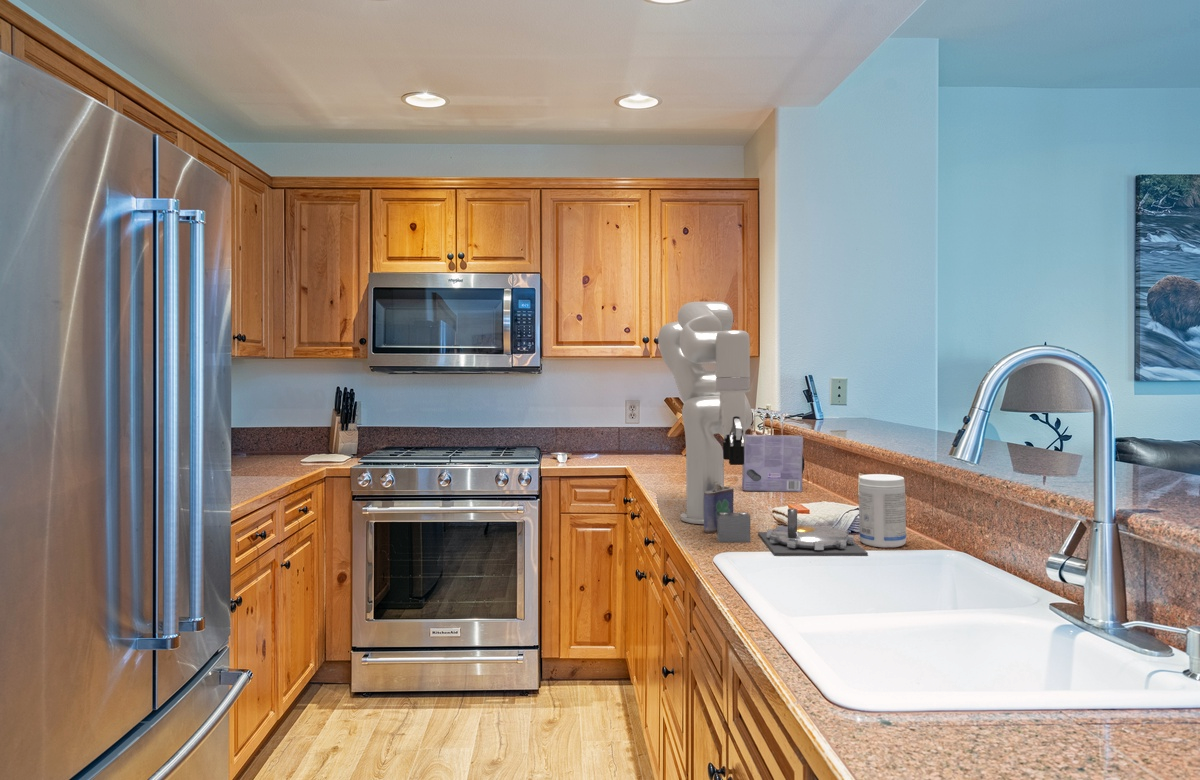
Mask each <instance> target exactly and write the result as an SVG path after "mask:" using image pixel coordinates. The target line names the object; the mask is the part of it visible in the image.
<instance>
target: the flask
mask: <svg viewBox="0 0 1200 780" xmlns="http://www.w3.org/2000/svg"><path fill="white" fill-rule="evenodd" d="M714 483H715V487H714V488H715V490H711V491H706V492H704V524H703V531H704V533H705V534H706V533H707V534H711V533H712V534H713V533H714V534H715V533H717V513H720V512H726V513H734V495H735V494H734V492H735V491H734V488H732V487H730V486H725V485H724V486H723V487H724V488H723V487H721V486H720V484H721V483H720V482H717V481H716V482H714ZM714 483H713V484H714Z"/></svg>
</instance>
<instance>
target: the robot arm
mask: <svg viewBox="0 0 1200 780" xmlns="http://www.w3.org/2000/svg"><path fill="white" fill-rule="evenodd" d="M733 313H734V312H733V310H732V308H731V307H730V305H729V304H728V303H726V302H723V301H692V302H691V301H690V302H689V301H688V302H686V303H685V304H683V305H682V306H681V307H680V308H679V310H678V312H677V321H673V322H671V321H670V322H668V323H666V324H664V325H663V326H661V328H660V329H659V331H658V337H657V338H658V349H659V352H660V356H661V358H662V360H663V362H664V364H665V365H666V367H667V368H668V369H669V371H670V372H671V374H672V375H673V378H674V380H675V384H676V387H677V390H678V392H679V394H680V398H681V399H682V401H683V405H682V410H681V417H682V421H683V423H682V424H683V429H684V430H683V431H684V435H685V436H684V437H685V462H686V463H685V464H686V466H685V467H686V469H685V471H686V478H685V481H686V483H685V484H686V511H685V512H683V513H681V514H680V520H681V521H682V522H685V523H689V524H695V525H704V492H706V491H711V490H715V488H714V487H715V483H714V482H716V481H717V482H720V483H721V484H720V486H721V487H723V486H725V465H724V463H725V461H727V460H728V464H729V465H730V466H743V464H744V442H743V436H744V435H746V431H747V430H748V429H749V428H750V427H751V425H752V421H753V412H752V408H751V405H750V402H749V399H748V397H747V395H746V393H750V392H751V377H750V376H751V373H750V372H751V370H750V369H751V363H750V362H751V356H750V355H751V353H750V352H751V345H750V334H749V333H748V332H747V331H746V330H741V329H732V327H733V324H734V314H733ZM703 364H704V365H705V364H706V365H707V364H708V365H709V364H710V365H711V364H715V370H706V369H705V368H704V365H703ZM717 434H719V435H720V436H722V437H723V442H722V445H721V443H720V441H718V440H717V438H716V437H715V435H717ZM713 483H714V484H713ZM723 488H724V487H723Z"/></svg>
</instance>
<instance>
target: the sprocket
mask: <svg viewBox="0 0 1200 780" xmlns="http://www.w3.org/2000/svg"><path fill="white" fill-rule="evenodd" d="M766 532H767V537H770V542H772V543H780V544H784V545H787V547H790V548H797V547H800V548H814V550H824V548H835V547H836V548H840V549H841V548H846V544H847V543H850V544H853V543H854V542H855V538H854V537H855V535H852V534H850V531H849V530H846V529H837V528H835V527H834V528H833V527H831V526H829V525H828V526H827V525H821V526H820V525H806V524H805V523H803V524H800V523H798V509H797V508H787V525H782V524H781V525H776V526H775V528H774V529H770V528H769V529H767V530H766Z"/></svg>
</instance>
